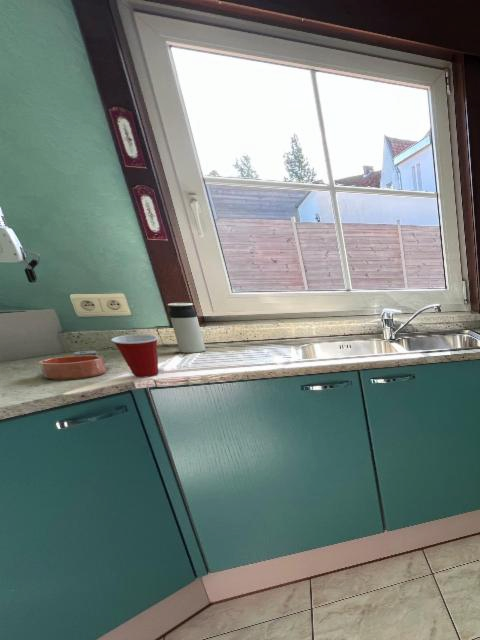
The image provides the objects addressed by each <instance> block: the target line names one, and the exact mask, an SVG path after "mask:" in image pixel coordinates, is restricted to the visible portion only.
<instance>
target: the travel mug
mask: <svg viewBox="0 0 480 640" xmlns="http://www.w3.org/2000/svg"><path fill="white" fill-rule="evenodd" d="M193 305H194V303H192V302H172V303H167V306H168V307H169V312H168V315H169V318H170V321H171V325H172V328H173V332H174V336H175V339H176V343H177V346H178V350H179V352H180V353H182V352H183V353H182V354H197V353H203V352H205V351H206V350H207V349H206V345H205V341H204V338H203V335H202V330H201V327H200V323H199V319H198V315H197V312H196V311H195V310H194V308H193Z"/></svg>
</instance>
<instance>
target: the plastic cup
mask: <svg viewBox="0 0 480 640" xmlns="http://www.w3.org/2000/svg"><path fill="white" fill-rule="evenodd" d="M158 339H159V336H157V335H154V334H127V335H119V336H115V337H112V338H111V339H110V340H111V342H112V343H113V344H115V346H116V347H117V350H119V352H120V354H121V356H122V358H123V359H124V361H125V363H126V365H127V366H128V367H129V369H130V371H131V373H132V375H133V376H134V377H135V376H136V378H146V377H145V376H149V377H154V376H153V375H155V376H158V375H159V359H158V348H157V347H158V345H157V344H158ZM157 374H158V375H157Z"/></svg>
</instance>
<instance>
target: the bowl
mask: <svg viewBox="0 0 480 640" xmlns="http://www.w3.org/2000/svg"><path fill="white" fill-rule="evenodd" d="M38 365H39V367H40V369H41V373H42V375H43V377H44V378H46V379H50V380H55V381H67V380H68V381H69V380H70V381H71V380H81V379H87V378H93V377H98V376H102V375H103V374H104V373H106V372H107V367H106V365H105V362H104V359H103V356H100V355H98V356H94V355H82V356H74V355H69V356H60V357H52V358H46V359H42V360H39V361H38Z"/></svg>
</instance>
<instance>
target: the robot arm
mask: <svg viewBox="0 0 480 640" xmlns="http://www.w3.org/2000/svg"><path fill="white" fill-rule="evenodd" d="M3 212H4V211H3V209H2V208H1V206H0V263H4V264H5V263H11V264H14V263H18V264H19V265H21V266H23V267H24V268H25V269H24V273H25V275H26V279H27V281H28V283H30V284H31V283H32V284H33V283H37V280H38V278H37V277H38V276H37V275H36V272H35V268H36V267H37V266H38V265H39V264H40V261H41V257H42V256H41V254H39V253H37V252H34V251H32V250H29V249H26V248H23V246H22V244H21V242H20V240H19V238H18V237H17V235H16V233H15V232H14V230H13V229H12V228H9V226H8V223H7V221H6V218H5V215H4V213H3ZM26 255H27V256H30V257H32V258H31V261H28V259H27V256H26Z"/></svg>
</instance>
